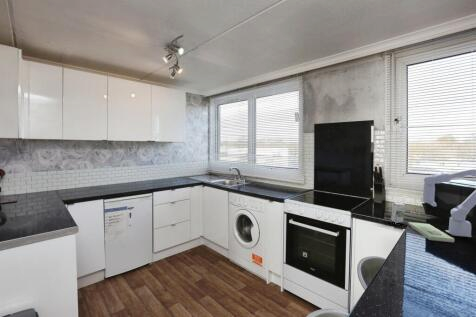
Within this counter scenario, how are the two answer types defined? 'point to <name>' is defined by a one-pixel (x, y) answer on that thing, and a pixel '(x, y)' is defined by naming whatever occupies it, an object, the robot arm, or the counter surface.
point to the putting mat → (430, 232)
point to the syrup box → (397, 212)
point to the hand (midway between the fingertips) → (427, 214)
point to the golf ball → (435, 232)
